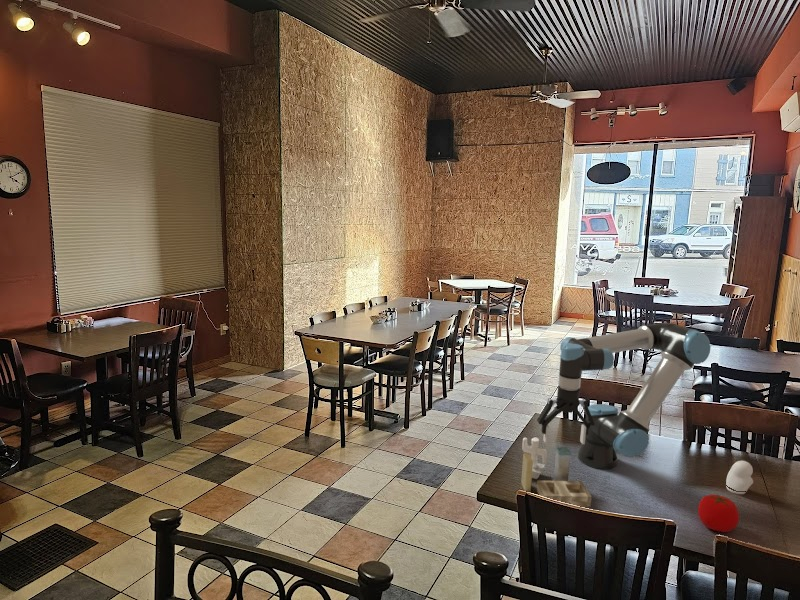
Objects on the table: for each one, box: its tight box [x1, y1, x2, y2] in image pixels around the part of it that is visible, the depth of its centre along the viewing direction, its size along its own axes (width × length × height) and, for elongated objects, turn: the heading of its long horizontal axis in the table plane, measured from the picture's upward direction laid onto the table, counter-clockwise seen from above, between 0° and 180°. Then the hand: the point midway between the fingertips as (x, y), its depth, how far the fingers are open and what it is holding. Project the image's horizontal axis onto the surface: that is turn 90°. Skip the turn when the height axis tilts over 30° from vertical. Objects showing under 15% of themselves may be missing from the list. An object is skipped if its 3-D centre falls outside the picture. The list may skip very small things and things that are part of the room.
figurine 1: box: [521, 436, 548, 480], centre depth 201 cm, size 7×9×15 cm
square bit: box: [553, 446, 572, 481], centre depth 195 cm, size 4×4×14 cm
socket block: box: [536, 479, 592, 508], centre depth 186 cm, size 16×10×4 cm, turn 90°
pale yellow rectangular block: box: [520, 452, 533, 493], centre depth 192 cm, size 2×6×12 cm, turn 0°
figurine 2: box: [725, 460, 754, 495], centre depth 194 cm, size 7×8×12 cm
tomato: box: [697, 494, 740, 533], centre depth 172 cm, size 11×12×10 cm
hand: (563, 442), depth 193 cm, fingers open, 13 cm apart
